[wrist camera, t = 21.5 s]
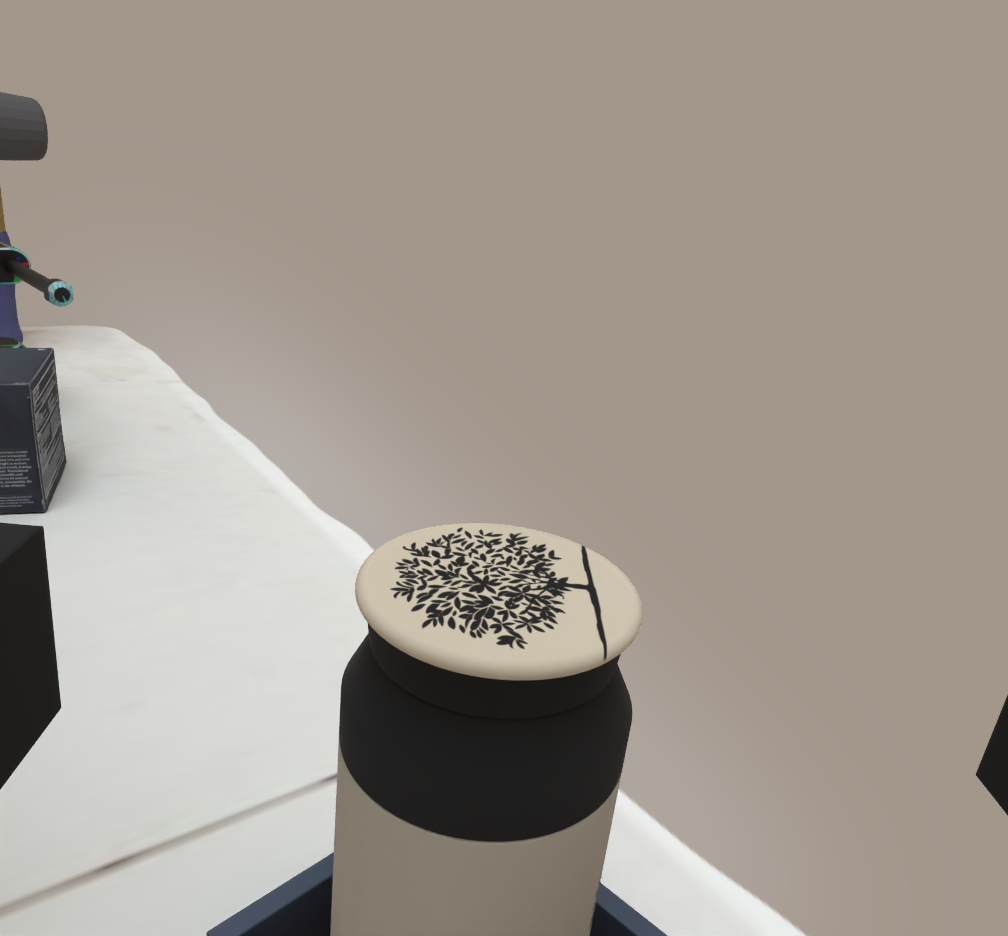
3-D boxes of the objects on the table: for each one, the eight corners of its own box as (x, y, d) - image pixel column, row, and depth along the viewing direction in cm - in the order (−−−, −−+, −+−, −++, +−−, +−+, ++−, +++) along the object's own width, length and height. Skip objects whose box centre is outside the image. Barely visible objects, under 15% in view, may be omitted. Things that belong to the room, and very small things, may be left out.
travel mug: (287, 1153, 24) (297, 636, 18) (365, 924, 32) (392, 501, 26) (551, 1215, 24) (659, 699, 17) (568, 966, 31) (648, 540, 25)
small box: (-18, 464, 70) (-33, 344, 66) (67, 463, 72) (57, 346, 69) (-52, 516, 61) (-72, 379, 57) (47, 513, 63) (34, 381, 59)
